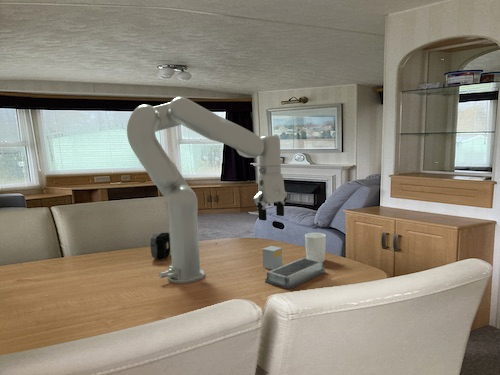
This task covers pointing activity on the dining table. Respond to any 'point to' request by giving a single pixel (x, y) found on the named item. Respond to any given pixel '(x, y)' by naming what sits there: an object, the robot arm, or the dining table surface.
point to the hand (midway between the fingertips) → (271, 217)
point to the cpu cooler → (160, 245)
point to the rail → (295, 273)
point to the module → (272, 257)
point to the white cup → (315, 246)
